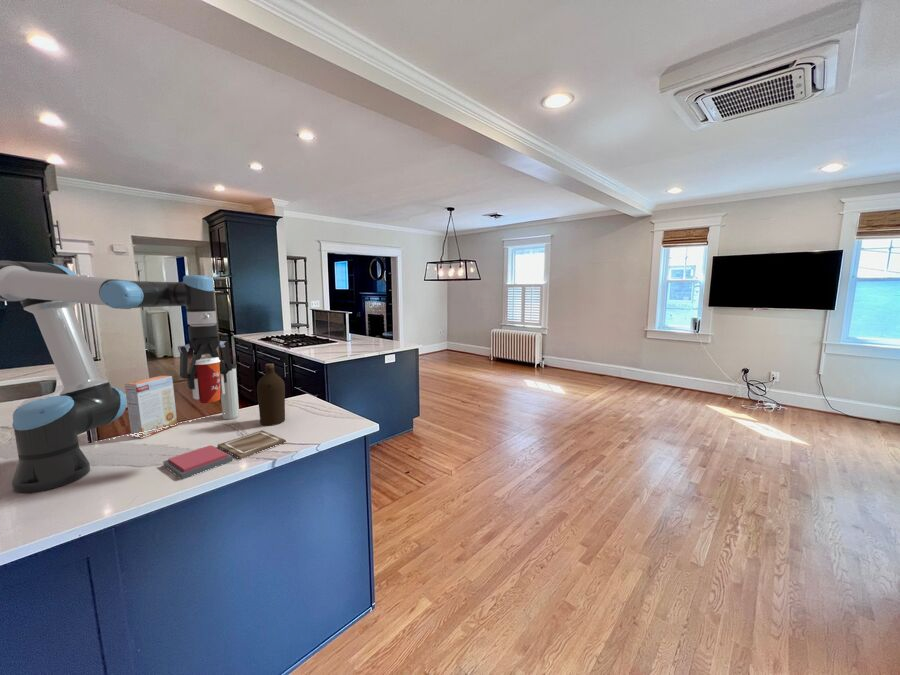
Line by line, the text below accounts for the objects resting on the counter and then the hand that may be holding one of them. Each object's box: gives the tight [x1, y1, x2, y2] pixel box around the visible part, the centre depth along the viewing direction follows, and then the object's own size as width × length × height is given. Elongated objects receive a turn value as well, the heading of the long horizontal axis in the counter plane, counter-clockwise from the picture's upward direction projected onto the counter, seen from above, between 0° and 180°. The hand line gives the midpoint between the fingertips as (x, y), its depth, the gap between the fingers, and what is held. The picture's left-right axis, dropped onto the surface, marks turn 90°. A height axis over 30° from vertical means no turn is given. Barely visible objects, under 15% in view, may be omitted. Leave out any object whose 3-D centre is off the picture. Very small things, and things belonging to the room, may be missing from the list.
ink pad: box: [162, 445, 234, 480], centre depth 114 cm, size 14×14×2 cm
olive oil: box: [256, 362, 286, 427], centre depth 149 cm, size 11×11×25 cm
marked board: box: [217, 429, 287, 460], centre depth 128 cm, size 16×16×1 cm
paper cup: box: [194, 355, 221, 404], centre depth 114 cm, size 8×8×14 cm
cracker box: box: [124, 375, 178, 437], centre depth 139 cm, size 14×6×21 cm, turn 168°
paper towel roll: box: [220, 367, 240, 420], centre depth 155 cm, size 7×6×21 cm
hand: (209, 395), depth 115 cm, fingers closed on paper cup, 7 cm apart
